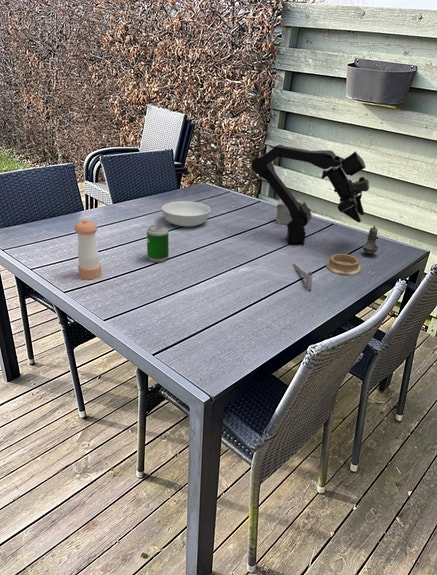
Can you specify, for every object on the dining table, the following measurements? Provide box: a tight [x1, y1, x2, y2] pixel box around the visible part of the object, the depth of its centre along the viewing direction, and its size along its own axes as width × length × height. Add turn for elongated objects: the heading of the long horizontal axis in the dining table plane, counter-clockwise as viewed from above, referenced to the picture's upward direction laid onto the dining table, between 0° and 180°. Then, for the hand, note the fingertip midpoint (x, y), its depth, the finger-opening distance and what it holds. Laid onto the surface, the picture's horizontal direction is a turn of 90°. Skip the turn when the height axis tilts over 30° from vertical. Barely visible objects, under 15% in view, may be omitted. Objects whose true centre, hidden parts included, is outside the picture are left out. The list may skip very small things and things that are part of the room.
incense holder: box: [275, 198, 302, 225], centre depth 210 cm, size 10×8×10 cm
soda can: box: [146, 224, 170, 263], centre depth 169 cm, size 8×8×12 cm
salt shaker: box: [361, 225, 379, 259], centre depth 180 cm, size 6×6×12 cm
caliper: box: [292, 262, 313, 291], centre depth 161 cm, size 20×1×6 cm, turn 6°
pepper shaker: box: [74, 218, 102, 280], centre depth 153 cm, size 7×7×19 cm
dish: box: [325, 253, 362, 277], centre depth 170 cm, size 12×12×4 cm
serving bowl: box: [161, 200, 212, 227], centre depth 205 cm, size 21×21×7 cm
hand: (361, 218), depth 177 cm, fingers open, 9 cm apart
